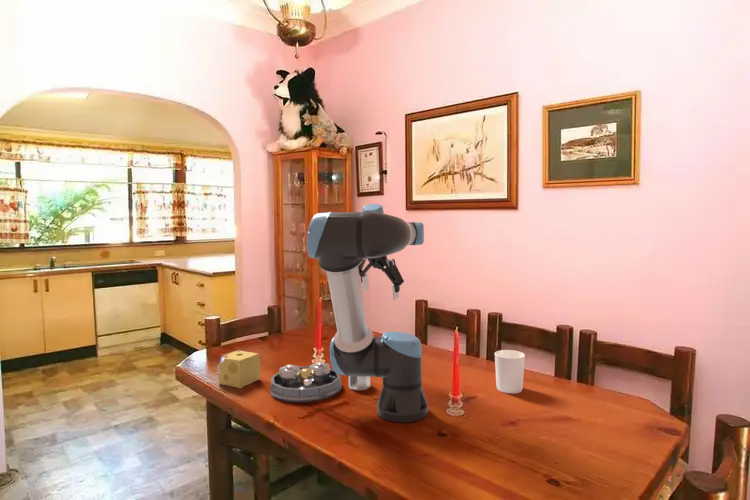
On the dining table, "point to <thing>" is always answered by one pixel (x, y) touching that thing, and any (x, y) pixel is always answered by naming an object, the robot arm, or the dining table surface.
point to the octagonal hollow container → (359, 382)
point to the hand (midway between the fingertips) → (380, 294)
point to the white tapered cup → (509, 370)
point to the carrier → (305, 383)
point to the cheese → (239, 369)
